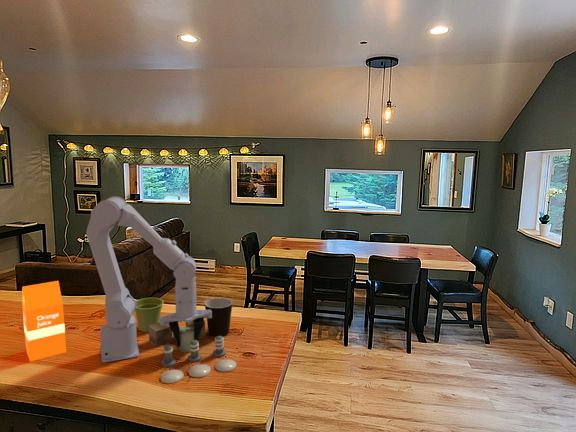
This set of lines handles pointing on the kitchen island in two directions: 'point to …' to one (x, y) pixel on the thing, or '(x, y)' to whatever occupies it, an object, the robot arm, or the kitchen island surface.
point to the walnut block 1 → (160, 334)
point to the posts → (193, 352)
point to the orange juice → (43, 320)
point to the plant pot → (148, 312)
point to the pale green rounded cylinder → (186, 339)
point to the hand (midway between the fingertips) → (186, 344)
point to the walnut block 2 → (191, 325)
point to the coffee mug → (219, 316)
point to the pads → (197, 371)
